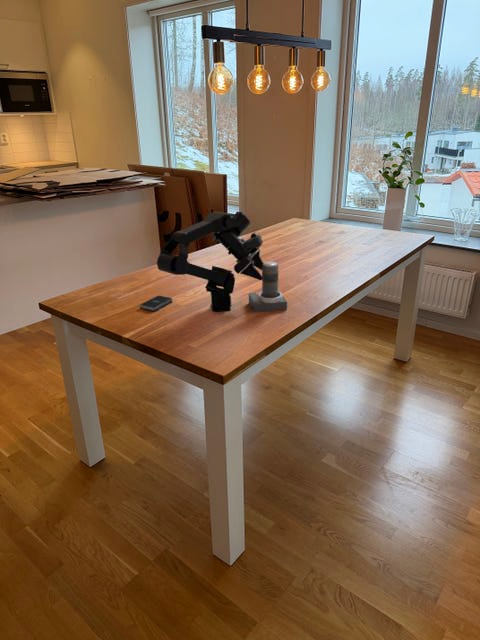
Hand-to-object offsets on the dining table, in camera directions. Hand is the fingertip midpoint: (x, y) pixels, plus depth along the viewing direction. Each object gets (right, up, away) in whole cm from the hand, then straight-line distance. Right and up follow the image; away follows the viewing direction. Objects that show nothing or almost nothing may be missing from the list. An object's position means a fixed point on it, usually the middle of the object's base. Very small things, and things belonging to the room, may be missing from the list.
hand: (264, 275), depth 156 cm
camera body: (+1, -11, +5) cm, 12 cm away
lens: (+2, -8, +4) cm, 9 cm away
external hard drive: (-39, -11, +8) cm, 42 cm away
